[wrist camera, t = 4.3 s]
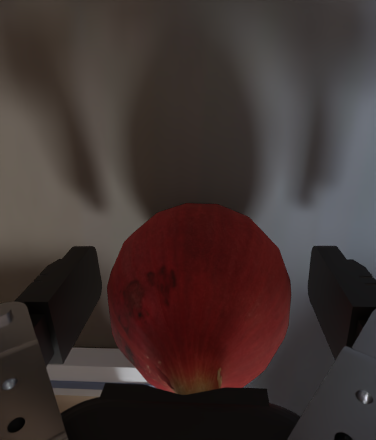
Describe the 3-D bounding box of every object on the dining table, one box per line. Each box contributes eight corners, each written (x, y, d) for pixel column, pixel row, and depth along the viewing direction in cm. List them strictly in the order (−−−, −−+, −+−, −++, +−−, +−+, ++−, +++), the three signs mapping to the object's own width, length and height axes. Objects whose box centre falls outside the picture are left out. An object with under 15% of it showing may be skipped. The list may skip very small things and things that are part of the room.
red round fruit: (142, 297, 16) (75, 486, 8) (130, 178, 13) (26, 291, 6) (267, 300, 15) (314, 504, 8) (276, 177, 13) (354, 299, 6)
